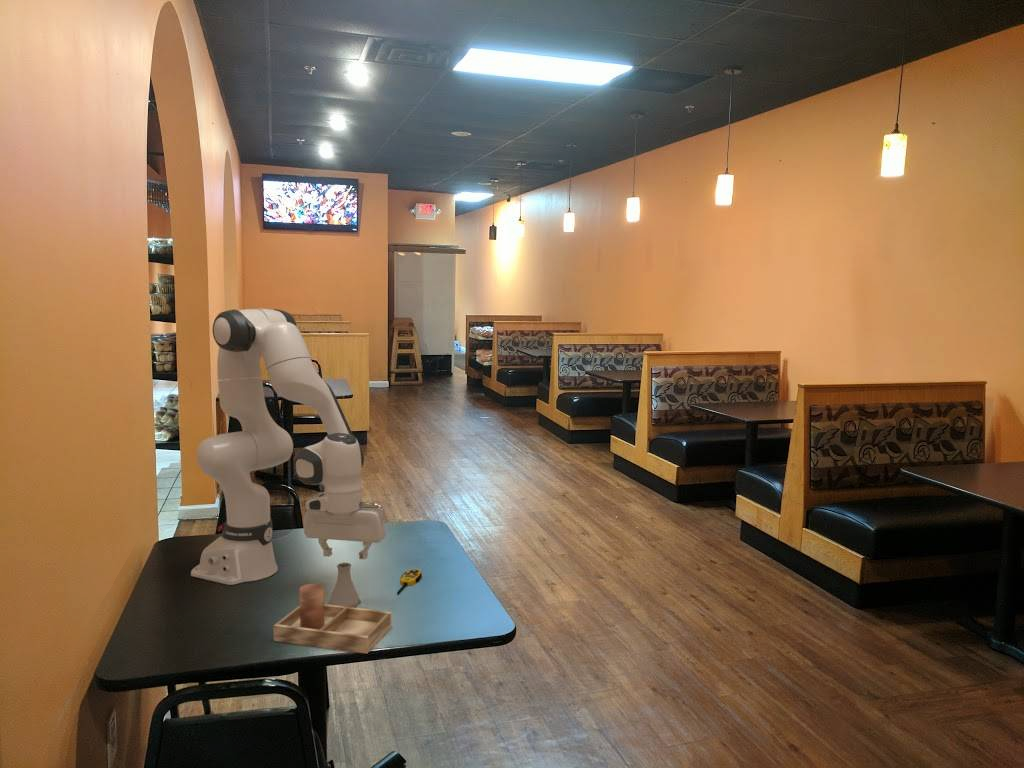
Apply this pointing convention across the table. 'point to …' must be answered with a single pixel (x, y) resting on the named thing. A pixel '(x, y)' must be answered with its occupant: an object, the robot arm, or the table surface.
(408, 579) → the yellow walkie talkie
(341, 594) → the flask
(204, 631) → the table surface
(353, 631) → the condiment caddy
